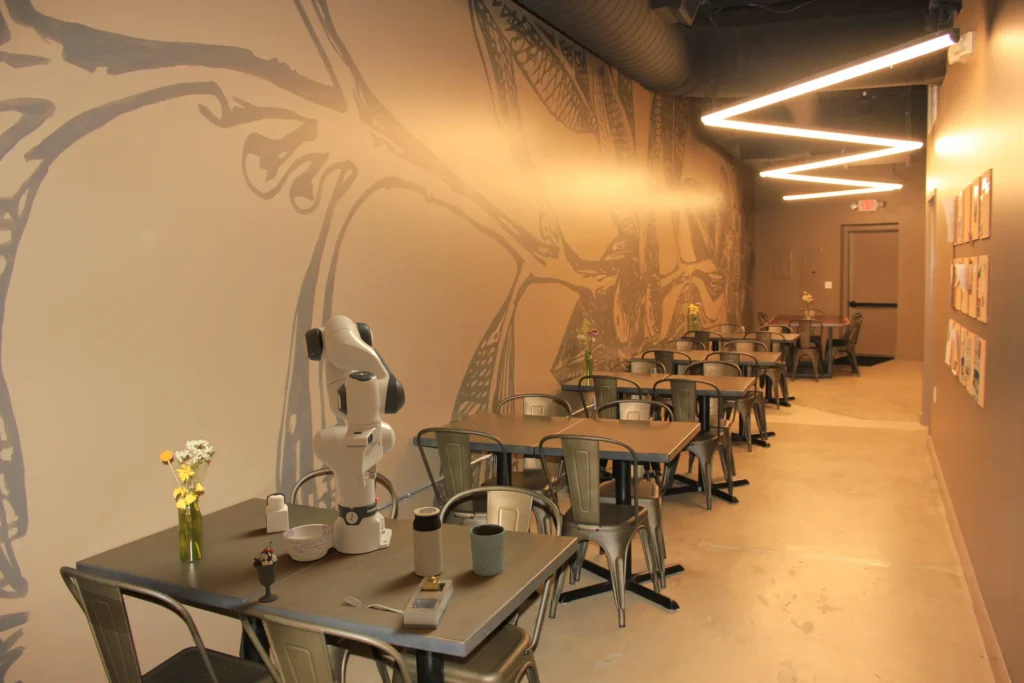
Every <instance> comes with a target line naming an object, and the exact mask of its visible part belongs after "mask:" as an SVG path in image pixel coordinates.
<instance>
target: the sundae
mask: <svg viewBox="0 0 1024 683" xmlns="http://www.w3.org/2000/svg"><path fill="white" fill-rule="evenodd" d="M272 543H273V541H269V544H268V545H267V547H266V548H263V551H261V552H260V553H259V554H258V556H257V557H254V558H253V562H252V564H253V567H254V568H256V571H257V572H256V573H257V577H258V581H259V584H260V585H262V586H264V588H265V594H264V595H261V596H260V597H259V598H258V601H259V602H260V603H270V602H271V603H272V602H275V601H276V600H277V599H278V598H279V596H278V595H277V594H275V593H271V586H272V585H273V584H274V582H275V581H276V576H277V567H278V566H277V565H278V563H279V561H280V559H279V558H277V556H276V555H275V554H274V550H273V549H272ZM269 546H270V547H269ZM268 548H269V549H268Z"/></svg>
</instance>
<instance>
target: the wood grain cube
mask: <svg viewBox="0 0 1024 683" xmlns="http://www.w3.org/2000/svg"><path fill="white" fill-rule="evenodd" d="M423 579H424V580H423ZM423 579H422V580H423V591H436V592H441V583H440V580H441V576H439V575H436V576H428V577H423Z"/></svg>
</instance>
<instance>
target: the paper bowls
mask: <svg viewBox="0 0 1024 683" xmlns="http://www.w3.org/2000/svg"><path fill="white" fill-rule="evenodd" d="M333 528H334V527H332V526H331V525H328V524H323V523H321V524H320V523H319V524H318V523H315V524H304V525H300V526H295V527H292V528H289V530H287V531H283V533H282V535H281V542H282V551H283V552H284V553H285V554H287V555H290V557H291V559H293V560H294V561H296V562H312V561H313V562H314V561H316V560H319V559H321V558H323V557H325V556H326V554H327V553H328V551H329V549H331V548H333V547H332V546H333V545H334V529H333Z"/></svg>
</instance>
